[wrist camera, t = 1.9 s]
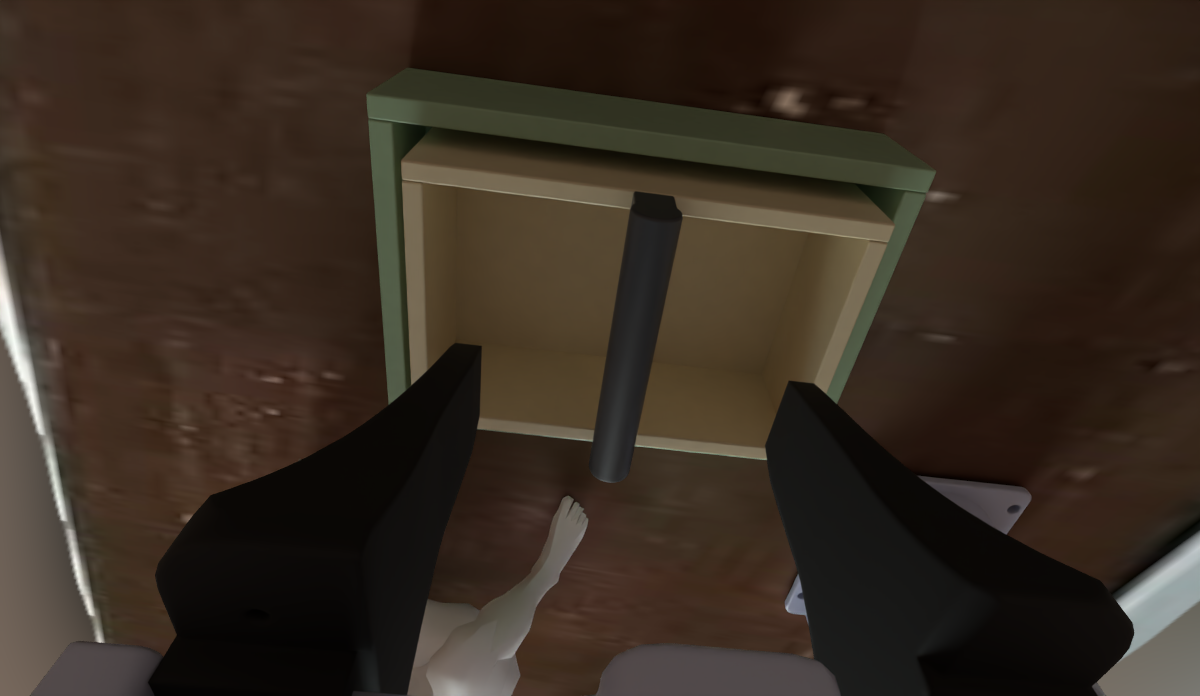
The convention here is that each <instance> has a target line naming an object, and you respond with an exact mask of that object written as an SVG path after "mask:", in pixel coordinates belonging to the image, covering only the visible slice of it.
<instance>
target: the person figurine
mask: <svg viewBox="0 0 1200 696" xmlns="http://www.w3.org/2000/svg"><path fill="white" fill-rule="evenodd" d="M300 460H301V459H299V461H300ZM295 463H296V462H295ZM573 500H574V499H573V498H571V497H570V496H566V497H564V498H562V501H561V503H560V506H559V508H558V511H557V512H556V514H555V515H554V517H553V520H552V523H551V527H550V531H549V535H548V538H547V541H546V543H545V545H544V548H543V550H542V552H541V555H540V557H539V559H538V561H537V562H536V563H535V565H534V566H533V567H532V568H531V573H530V574H529V575H528V576H527V577H526V578H525V579H524V580H522V581H521V582H520V583H518V584H517V585H516V586H515V587H513V588H512V589H511V590H509V591H508V592H507V593H506V594H504V595H502V596H500V597H498V598H496V599H494V600H492V601H490V602H489V603H488V604H486V605H485V606H484V607H483V608H482V609H481V610H480V611H479V610H478V609H476V608H475V607H473V606H471V605H470V604H466V603H441V602H437V601H433V600H429V599H427V604H426V608H425V613H424V617H423V622H422V626H421V631H420V635H419V640H418V645H417V650H416V654H415V659H414V664H413V669H412V673H411V678H410V683H409V688H408V693H407V695H410V696H511V694H512V692H513V690H514V688H515V686H516V684H517V682H518V679H519V677H520V672H519V668H518V664H517V660H516V656H515V652H516V650H517V649H518V647H519V646H520V644H521V643H522V641H523V639H524V638H525V636H526V635H527V633H528V632H529V630H530V627H531V623H532V619H533V616H534V612H535V609H536V606H537V605H538V603H539V602H540V600H541V599H542V597H543V596H544V594H545V593H546V592H547V590H549V589H550V588H551V587H552V586H554V585H555V584H556V583H557V582H558V580H559V575H560V572H561V570H562V569H563V567H564V566H565V564H566V563H567V561H568V560H569V558H570V557H571V555H572V554H573V552H574V551H575V549H576V547H577V546H578V544H579V543H580V541H581V540H582V538H583V536H584V533H585V530H586V528H587V524H588V518H585V517H586V515H585V514H584V513H582V511H583V510H584V508H582V507H579V505H580V504H579V503H578V502H575V503H574V505H573V506H572V508H571V509H570V507H571V505H572V503H573ZM578 507H579V508H578ZM569 509H570V510H569ZM580 514H581V515H580ZM579 516H580V517H579Z"/></svg>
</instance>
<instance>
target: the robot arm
mask: <svg viewBox="0 0 1200 696" xmlns="http://www.w3.org/2000/svg"><path fill="white" fill-rule="evenodd" d="M481 358H482V346H479V345H471V344H462V343H454V344H453V345H451V346H450V347H449V348H448V349H447V350H446V351H445V353H444V354H443V355H442V356H441V357H440V358H439V359H438V360H437V361H436V362H435V363H434V364H433V365H432V366H431V367H430V368H429V369H428V370H427V371H426V372H425V373H424V374H423V375H422V376H421V377H420V378H419V379H418V380H417V381H415V382H414V383H413V384H412V385H411V386H410V387H409V388H408V389H407V390H406V391H405V392H403V393H402V394H401V395H400V396H399V397H398V398H396V399H395V400H394V401H393V402H391V403H390V404H389V405H388V406H387V407H385V408H384V409H383V410H382V411H380V412H379V413H378V414H376V415H375V416H374V417H372V418H371V419H370V420H368V421H367V422H365V423H364V424H363V425H361V426H360V427H358V428H357V429H355V430H354V431H352V432H351V433H349V434H348V435H346V436H344V437H343V438H341V439H339V440H337V441H335V442H334V443H332V444H330V445H328V446H326V447H325V448H323V449H321V450H319V451H317V452H316V453H314V454H312V455H310V456H308V457H306V458H304V459H302V460H300V461H298V462H296V463H293V464H291V465H289V466H287V467H285V468H282V469H280V470H278V471H275V472H273V473H271V474H268V475H266V476H263V477H261V478H258V479H256V480H253V481H250V482H247V483H245V484H242V485H239V486H236V487H233V488H231V489H228V490H225V491H222V492H219V493H216V494H213V495H211V496H210V497H209V498H208V499H207V500H206V501H205V503H204V504H203V505H202V506H201V507H200V508H199V509H198V510H197V511H196V513H195V514H194V515H193V516H192V518H191V519H190V520H189V521H188V523H187V524H186V525H185V527H184V528H183V529H182V531H181V532H180V534H179V535H178V536H177V538H176V539H175V541H174V542H173V543H172V545H171V546H170V548H169V549H168V550H167V552H166V553H165V555H164V556H163V557H162V559H161V560H160V562H159V563H158V567H157V570H156V574H155V577H156V582H157V587H158V590H159V593H160V595H161V598H162V600H163V602H164V605H165V607H166V610H167V612H168V614H169V617H170V619H171V622H172V624H173V626H174V629H175V631H176V634H177V636H176V638H175V639H174V641H173V643H172V644H171V646H170V647H169V649H168V651H167V652H166V654H165V656H164V657H163V656H162V655H161V654H160V653H159V652H157V651H155V650H153V649H151V648H147V647H142V646H135V645H123V644H110V643H98V642H85V641H76V642H72V643H70V644H69V645H68V647H67V648H66V649H65V650H64V652H63V653H62V654H61V656H60V657H59V658H58V660H57V661H56V662H55V663H54V665H53V666H52V667H51V669H50V670H49V671H48V673H47V674H46V675H45V676H44V678H43V679H42V680H41V682H40V683H39V684H38V686H37V687H36V688H35V690H34V691H33V692H32V693H31V695H30V696H410V695H407V693H408V688H409V683H410V678H411V673H412V669H413V664H414V659H415V654H416V650H417V645H418V640H419V635H420V631H421V626H422V622H423V617H424V613H425V608H426V604H427V599H428V595H429V590H430V586H431V582H432V578H433V573H434V569H435V565H436V560H437V556H438V552H439V548H440V545H441V541H442V538H443V535H444V531H445V528H446V526H447V523H448V520H449V517H450V514H451V511H452V508H453V506H454V503H455V500H456V497H457V494H458V491H459V488H460V486H461V483H462V480H463V477H464V474H465V471H466V468H467V465H468V462H469V460H470V457H471V454H472V450H473V445H474V441H475V436H476V431H477V426H478V422H479V417H480V392H481ZM765 449H766V456H767V464H768V470H769V476H770V482H771V486H772V489H773V493H774V496H775V499H776V503H777V506H778V509H779V512H780V516H781V519H782V522H783V525H784V528H785V532H786V535H787V538H788V541H789V544H790V548H791V551H792V554H793V557H794V560H795V564H796V567H797V571H798V575H797V577H796V579H795V581H794V583H793V585H792V587H791V590H790V592H789V594H788V596H787V598H786V600H785V606H786V610H787V611H788V612H790V613H792V614H801V615H806V618H807V621H808V625H809V630H810V636H811V642H812V648H813V654H814V659H810V658H806V657H802V656H799V655H795V654H788V653H777V652H765V651H753V650H742V649H730V648H719V647H707V646H696V645H684V644H673V643H661V644H645V645H639V646H636V647H634V648H632V649H629V650H627V651H624V652H622V653H620V654H618V655H617V656H615V657H614V658H613V659H612V661H611V662H610V663H609V665H608V666H607V667H606V669H605V670H604V671H603V673H602V677H601V681H600V685H599V689H598V692H597V694H596V695H588V696H1106V695H1105V694H1104V692H1103V691H1102V689H1101V688H1100V686H1099V685H1098V683H1097V681H1098V680H1099V679H1100V678H1101V677H1102V676H1103V675H1104V674H1106V673H1107V672H1108V671H1109V670H1110V669H1111V668H1112V667H1113V666H1114V665H1115V664H1116V663H1117V662H1118V661H1119V660H1120V659H1121V658H1122V657H1123V655H1124V654H1125V653H1126V652H1127V650H1128V649H1129V648H1130V645H1131V642H1132V639H1133V636H1134V629H1133V624H1132V622H1131V620H1130V619H1129V618H1128V616H1127V615H1126V614H1125V612H1124V611H1123V610H1122V608H1121V607H1120V606H1119V604H1118V603H1117V602H1116V600H1115V599H1114V598H1113V596H1112V595H1111V594H1110V592H1109V591H1108V590H1107V588H1106V587H1105V586H1104V584H1103V583H1102V582H1101V581H1100V580H1098V579H1095V578H1093V577H1091V576H1089V575H1087V574H1085V573H1082V572H1080V571H1078V570H1076V569H1074V568H1072V567H1069V566H1067V565H1065V564H1063V563H1061V562H1059V561H1056V560H1054V559H1052V558H1050V557H1048V556H1046V555H1044V554H1042V553H1040V552H1038V551H1036V550H1034V549H1032V548H1030V547H1028V546H1027V545H1025V544H1023V543H1021V542H1019V541H1017V540H1015V539H1013V538H1011V537H1010V536H1008V535H1007V533H1008V532H1009V530H1010V529H1011V528H1012V526H1013V525H1014V523H1015V522H1016V521H1017V519H1018V518H1019V516H1020V515H1021V514H1022V512H1023V511H1024V510H1025V508H1026V507H1027V505H1028V504H1029V503H1030V501H1031V495H1030V493H1029V492H1028V491H1027V489H1025V488H1024V487H1019V486H1010V485H1000V484H991V483H982V482H972V481H963V480H953V479H944V478H935V477H925V476H917V475H915V474H914V473H913V472H911V471H910V470H909V469H908V468H907V467H905V466H904V465H903V464H902V463H901V462H899V461H898V460H897V459H896V458H895V457H893V456H892V455H891V454H890V453H889V452H888V451H886V450H885V449H884V448H883V447H882V446H881V445H880V444H879V443H877V442H876V441H875V440H874V439H873V438H872V437H871V436H870V435H869V434H868V433H867V432H865V431H864V430H863V429H862V428H861V427H860V426H859V425H858V424H857V423H856V422H855V421H854V420H853V419H852V418H851V417H850V416H849V415H848V414H847V413H846V412H845V411H843V410H842V409H841V408H840V407H839V406H838V405H837V404H836V403H835V402H834V401H833V400H832V399H831V398H830V397H829V396H828V395H827V394H826V393H825V392H823V391H822V390H821V389H820V388H819V387H818V386H817V385H815V384H814V383H806V382H798V381H788V384H787V386H786V389H785V392H784V395H783V397H782V400H781V403H780V406H779V408H778V411H777V414H776V417H775V419H774V422H773V425H772V428H771V430H770V433H769V436H768V439H767V441H766V444H765Z"/></svg>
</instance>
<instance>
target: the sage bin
mask: <svg viewBox="0 0 1200 696" xmlns="http://www.w3.org/2000/svg"><path fill="white" fill-rule="evenodd" d="M366 96H367V110H368V117H369V118H370V119H369V120H368V123H369V137H370V151H371V165H372V179H373V193H374V207H375V221H376V234H377V248H378V262H379V276H380V290H381V304H382V318H383V332H384V346H385V360H386V373H387V387H388V401H389V404H390V403H391V402H393V401H394V400H395V399H396V398H398V397H399V396H400V395H401V394H402V393H403V392H405V391H406V390H407V389H408V388H409V387H410V386H411V370H410V349H409V327H408V305H407V283H406V262H405V240H404V218H403V196H402V181H403V179H402V175H401V160H402V159H403V158H404V157H405V156H406V155H407V154H408V152H409V151H410V150H411V149H412V148H413V147H414V146H415V145H416V144H417V143H418V142H419V141H420V140H421V139H422V138H423V137H424V136H425V135H426V133H427V132H428V131H429V130H430V129H431V128H432V127H438V128H445V129H453V130H460V131H467V132H475V133H482V134H490V135H497V136H505V137H512V138H520V139H527V140H535V141H542V142H550V143H557V144H565V145H572V146H580V147H587V148H594V149H602V150H609V151H617V152H624V153H632V154H639V155H647V156H654V157H662V158H669V159H677V160H684V161H692V162H699V163H707V164H714V165H721V166H729V167H736V168H744V169H751V170H759V171H766V172H774V173H781V174H789V175H796V176H804V177H811V178H819V179H826V180H834V181H841V182H848V183H854V184H855V185H856V186H857V187H858V188H859V189H860V190H861V191H862V192H863V193H864V194H865V195H866V196H867V197H868V198H869V199H870V200H871V201H872V202H873V203H874V204H875V205H876V206H877V207H878V208H879V209H880V210H881V211H882V212H883V213H884V214H885V215H886V216H887V217H888V218H889V219H890V220H891V221H892V222H893V223H894V224H895V228H894V230H893V233H892V235H891V238H890V240H889V241H888V242H887V247H886V250H885V252H884V255H883V257H882V259H881V262H880V264H879V267H878V269H877V272H876V274H875V277H874V279H873V281H872V284H871V286H870V289H869V291H868V294H867V296H866V298H865V301H864V303H863V306H862V308H861V311H860V313H859V316H858V318H857V320H856V323H855V325H854V328H853V330H852V333H851V335H850V337H849V340H848V342H847V345H846V347H845V350H844V352H843V355H842V357H841V359H840V362H839V364H838V367H837V369H836V372H835V374H834V376H833V379H832V381H831V384H830V386H829V389H828V391H827V393H826V394H827V395H828V396H829V397H830V398H831V399H832V400H833V401H834V402H835V403H836V404H837V403H838V400H839V398H840V396H841V393H842V391H843V389H844V386H845V384H846V382H847V379H848V377H849V375H850V372H851V370H852V368H853V365H854V363H855V361H856V358H857V356H858V354H859V351H860V349H861V347H862V344H863V342H864V339H865V337H866V335H867V332H868V330H869V328H870V325H871V323H872V321H873V318H874V316H875V314H876V311H877V309H878V307H879V304H880V302H881V300H882V297H883V295H884V293H885V290H886V288H887V286H888V283H889V281H890V279H891V276H892V274H893V272H894V269H895V267H896V265H897V262H898V260H899V257H900V255H901V253H902V250H903V248H904V246H905V243H906V241H907V239H908V236H909V234H910V232H911V229H912V227H913V225H914V222H915V220H916V218H917V215H918V213H919V211H920V208H921V206H922V204H923V201H924V199H925V197H926V192H928V190H929V188H930V185H931V183H932V181H933V178H934V176H935V174H936V170H934V169H933V168H931V167H930V166H929V165H927V164H926V163H924V162H923V161H922V160H920V159H919V158H917V157H916V156H914V155H913V154H912V153H910V152H909V151H907V150H906V149H905V148H903V147H902V146H900V145H899V144H898V143H896V142H895V141H893V140H892V139H891V138H889V137H888V136H887V135H885V134H882V133H875V132H867V131H860V130H853V129H846V128H839V127H831V126H824V125H817V124H810V123H803V122H795V121H788V120H781V119H774V118H767V117H760V116H752V115H745V114H738V113H731V112H724V111H716V110H709V109H702V108H695V107H688V106H680V105H673V104H666V103H659V102H652V101H644V100H637V99H630V98H623V97H616V96H608V95H601V94H594V93H587V92H580V91H572V90H565V89H558V88H551V87H544V86H536V85H529V84H522V83H515V82H508V81H501V80H493V79H486V78H479V77H472V76H465V75H457V74H450V73H443V72H436V71H429V70H421V69H414V68H406V69H404V70H403V71H401V72H400V73H398V74H397V75H395V76H394V77H392V78H390V79H389V80H387V81H386V82H384V83H382V84H381V85H379V86H378V87H376V88H375V89H373V90H371V91H370V92H368V93H367V95H366ZM479 430H487V429H479ZM489 431H496V430H489ZM498 432H505V431H498ZM508 433H515V432H508ZM517 434H524V433H517ZM526 435H533V434H526ZM536 436H543V435H536ZM545 437H552V436H545ZM555 438H562V437H555ZM564 439H571V438H564ZM573 440H580V439H573ZM583 441H590V440H583ZM592 442H593V441H592ZM635 446H637V445H635ZM639 447H646V446H639ZM648 448H655V447H648ZM658 449H665V448H658ZM667 450H674V449H667ZM677 451H684V450H677ZM686 452H693V451H686ZM695 453H702V452H695ZM705 454H712V453H705ZM714 455H721V454H714ZM724 456H730V455H724ZM733 457H740V456H733ZM742 458H749V457H742ZM752 459H759V458H752ZM761 460H767V459H761Z"/></svg>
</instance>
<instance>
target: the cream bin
mask: <svg viewBox="0 0 1200 696" xmlns="http://www.w3.org/2000/svg"><path fill="white" fill-rule="evenodd" d="M401 175H402V179H403V181H402V196H403V218H404V240H405V262H406V283H407V305H408V327H409V349H410V370H411V385H412V384H413V383H414V382H415V381H417V380H418V379H419V378H420V377H421V376H422V375H423V374H424V373H425V372H426V371H427V370H428V369H429V368H430V367H431V366H432V365H433V364H434V363H435V362H436V361H437V360H438V359H439V358H440V357H441V356H442V355H443V354H444V353H445V351H446V350H447V349H448V348H449V347H450V346H451V345H453V344H454V343H462V344H471V345H479V346H482V358H481V392H480V417H479V422H478V426H477V429H487V430H496V431H505V432H515V433H524V434H533V435H543V436H552V437H562V438H571V439H580V440H590V441H593V442H592V448H591V454H590V460H589V469H590V471H591V473H592V474H593V475H594V476H595V477H596V478H597V479H599V480H601V481H604V482H611V483H612V482H619V481H621V480H623V479H624V478H625V477H626V476H627V475H628V474H629V470H630V466H631V461H632V456H633V451H634V447H635V445H637V446H646V447H655V448H665V449H674V450H684V451H693V452H702V453H712V454H721V455H730V456H740V457H749V458H759V459H767V456H766V449H765V444H766V441H767V439H768V436H769V433H770V430H771V428H772V425H773V422H774V419H775V417H776V414H777V411H778V408H779V406H780V403H781V400H782V397H783V395H784V392H785V389H786V386H787V384H788V381H798V382H806V383H814V384H815V385H817V386H818V387H819V388H820V389H821V390H822V391H823V392H825V393H827V391H828V389H829V386H830V384H831V381H832V379H833V376H834V374H835V372H836V369H837V367H838V364H839V362H840V359H841V357H842V355H843V352H844V350H845V347H846V345H847V342H848V340H849V337H850V335H851V333H852V330H853V328H854V325H855V323H856V320H857V318H858V316H859V313H860V311H861V308H862V306H863V303H864V301H865V298H866V296H867V294H868V291H869V289H870V286H871V284H872V281H873V279H874V277H875V274H876V272H877V269H878V267H879V264H880V262H881V259H882V257H883V255H884V252H885V250H886V247H887V242H888V241H889V240H890V238H891V235H892V233H893V230H894V228H895V224H894V223H893V222H892V221H891V220H890V219H889V218H888V217H887V216H886V215H885V214H884V213H883V212H882V211H881V210H880V209H879V208H878V207H877V206H876V205H875V204H874V203H873V202H872V201H871V200H870V199H869V198H868V197H867V196H866V195H865V194H864V193H863V192H862V191H861V190H860V189H859V188H858V187H857V186H856V185H855V184H854V183H848V182H841V181H834V180H826V179H819V178H811V177H804V176H796V175H789V174H781V173H774V172H766V171H759V170H751V169H744V168H736V167H729V166H721V165H714V164H707V163H699V162H692V161H684V160H677V159H669V158H662V157H654V156H647V155H639V154H632V153H624V152H617V151H609V150H602V149H594V148H587V147H580V146H572V145H565V144H557V143H550V142H542V141H535V140H527V139H520V138H512V137H505V136H497V135H490V134H482V133H475V132H467V131H460V130H453V129H445V128H438V127H432V128H431V129H430V130H429V131H428V132H427V133H426V135H425V136H424V137H423V138H422V139H421V140H420V141H419V142H418V143H417V144H416V145H415V146H414V147H413V148H412V149H411V150H410V151H409V152H408V154H407V155H406V156H405V157H404V158H403V159H402V160H401Z"/></svg>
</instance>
